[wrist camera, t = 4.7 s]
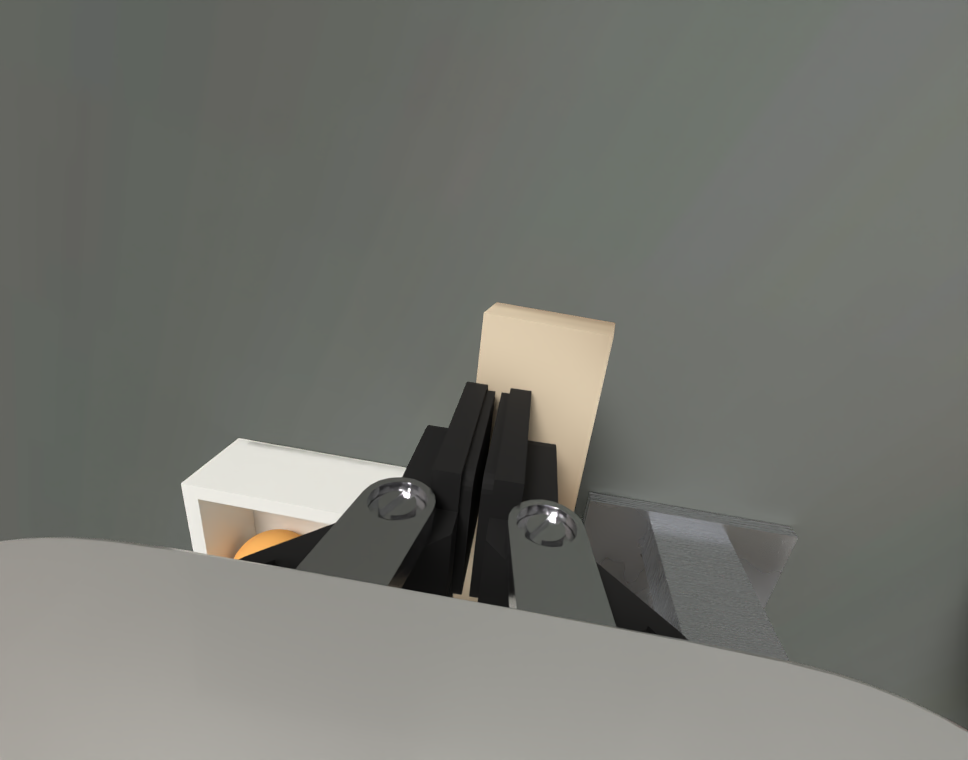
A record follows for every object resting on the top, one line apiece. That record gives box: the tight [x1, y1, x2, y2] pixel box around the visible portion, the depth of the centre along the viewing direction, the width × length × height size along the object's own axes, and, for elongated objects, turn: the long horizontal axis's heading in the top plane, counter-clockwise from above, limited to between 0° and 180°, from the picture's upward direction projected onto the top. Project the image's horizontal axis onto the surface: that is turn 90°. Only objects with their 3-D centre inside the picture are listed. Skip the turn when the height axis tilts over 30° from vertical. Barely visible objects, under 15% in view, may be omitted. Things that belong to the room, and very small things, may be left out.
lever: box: [453, 302, 615, 602], centre depth 12 cm, size 17×18×3 cm
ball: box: [234, 529, 300, 559], centre depth 21 cm, size 4×4×4 cm
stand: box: [582, 492, 798, 661], centre depth 17 cm, size 11×8×8 cm
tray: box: [181, 438, 406, 559], centre depth 21 cm, size 10×10×4 cm
